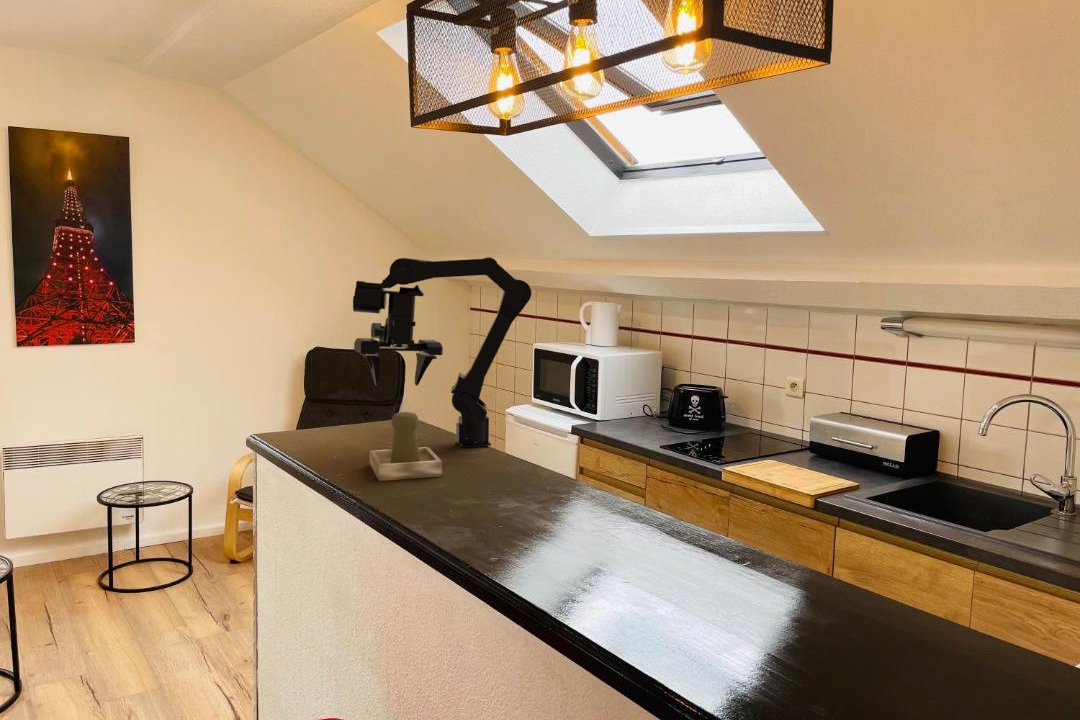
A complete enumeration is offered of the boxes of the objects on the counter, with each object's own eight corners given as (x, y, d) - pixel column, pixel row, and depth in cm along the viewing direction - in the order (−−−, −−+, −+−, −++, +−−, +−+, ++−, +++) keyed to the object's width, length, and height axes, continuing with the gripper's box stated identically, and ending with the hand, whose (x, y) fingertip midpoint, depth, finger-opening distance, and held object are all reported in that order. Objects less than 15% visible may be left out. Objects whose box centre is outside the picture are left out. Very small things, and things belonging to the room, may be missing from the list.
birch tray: (428, 461, 173) (428, 446, 173) (441, 476, 162) (441, 461, 162) (369, 465, 169) (369, 450, 169) (379, 481, 158) (379, 465, 158)
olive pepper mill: (383, 468, 165) (383, 413, 163) (403, 461, 170) (403, 408, 169) (407, 473, 162) (407, 417, 160) (427, 466, 167) (427, 412, 166)
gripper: (427, 313, 195) (423, 379, 197) (348, 309, 186) (345, 379, 188) (445, 318, 186) (441, 387, 188) (363, 315, 177) (359, 388, 179)
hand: (396, 385), depth 186 cm, fingers open, 9 cm apart
